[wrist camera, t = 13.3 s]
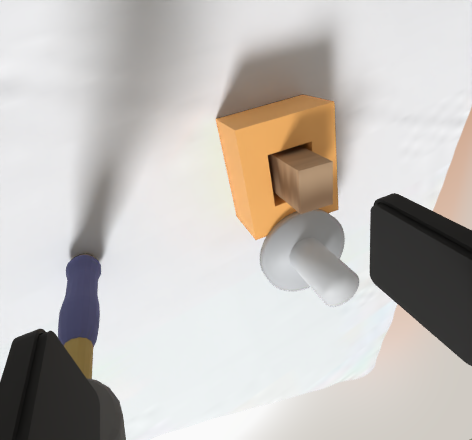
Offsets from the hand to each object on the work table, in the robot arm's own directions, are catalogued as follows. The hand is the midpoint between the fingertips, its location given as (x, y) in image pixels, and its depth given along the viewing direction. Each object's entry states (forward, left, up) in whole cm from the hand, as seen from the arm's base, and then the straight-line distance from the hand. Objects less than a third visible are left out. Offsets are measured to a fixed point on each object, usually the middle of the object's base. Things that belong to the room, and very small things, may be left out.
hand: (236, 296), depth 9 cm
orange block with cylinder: (+15, +15, -33) cm, 39 cm away
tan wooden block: (+10, +15, -33) cm, 38 cm away
